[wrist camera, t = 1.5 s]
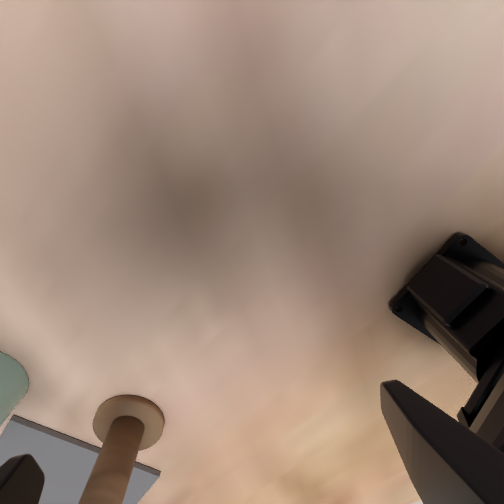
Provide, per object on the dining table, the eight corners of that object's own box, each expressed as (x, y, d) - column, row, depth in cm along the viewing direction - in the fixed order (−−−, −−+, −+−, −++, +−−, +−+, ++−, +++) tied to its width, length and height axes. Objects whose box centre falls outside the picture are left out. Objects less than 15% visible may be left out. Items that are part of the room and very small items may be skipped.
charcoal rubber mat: (160, 471, 26) (159, 476, 26) (97, 547, 29) (95, 552, 29) (13, 415, 23) (10, 419, 23) (-39, 506, 26) (-43, 511, 26)
